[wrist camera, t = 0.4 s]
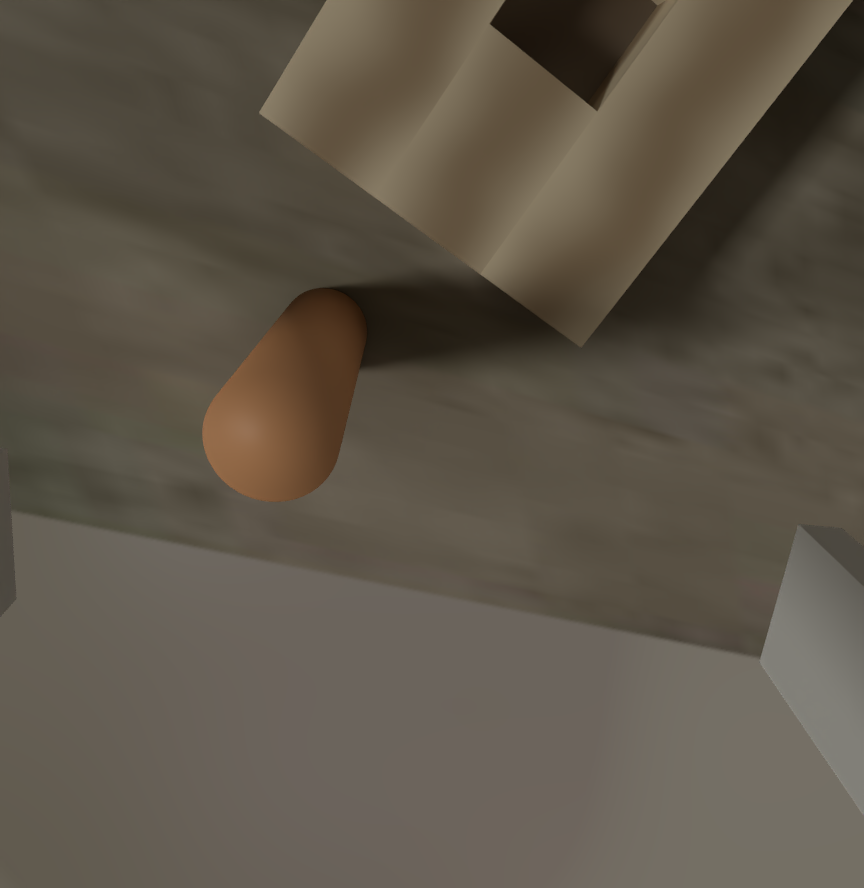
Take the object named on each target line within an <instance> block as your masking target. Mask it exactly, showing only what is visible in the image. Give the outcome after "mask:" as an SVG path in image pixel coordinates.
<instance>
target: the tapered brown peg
mask: <svg viewBox="0 0 864 888" xmlns="http://www.w3.org/2000/svg"><path fill="white" fill-rule="evenodd" d="M366 340H367V324H366V320H365V317H364V315H363V312H362V311H361V309H360V307H359V306H358V305H357V304H356V302H355V301H354V300H353V299H351V298H350V297H349V296H347V295H346V294H344V293H342V292H340V291H337V290H334V289H328V288H318V289H312V290H309V291H306V292H304V293H302V294H301V295H299V296H298V297H296V298H295V299H294V300H293V301H292V302H291V304H290V305H289V306H288V307H287V308H286V310H285V311H284V312H283V313H282V315H281V316H280V317H279V318H278V320H277V321H276V322H275V323H274V325H273V326H272V327H271V328H270V330H269V331H268V332H267V333H266V334H265V336H264V337H263V338H262V339H261V341H260V342H259V343H258V344H257V346H256V347H255V348H254V349H253V351H252V352H251V353H250V354H249V356H248V357H247V358H246V359H245V361H244V362H243V363H242V364H241V365H240V367H239V368H238V369H237V370H236V372H235V373H234V374H233V375H232V377H231V378H230V379H229V380H228V382H227V383H226V384H225V385H224V387H223V388H222V389H221V390H220V391H219V393H218V394H217V395H216V397H215V398H214V399H213V401H212V402H211V404H210V406H209V408H208V410H207V412H206V415H205V419H204V423H203V444H204V449H205V452H206V455H207V458H208V460H209V462H210V464H211V466H212V467H213V469H214V470H215V472H216V473H217V474H218V476H219V477H220V478H221V479H222V480H223V481H224V482H225V483H226V484H227V485H229V486H230V487H231V488H233V489H234V490H236V491H237V492H239V493H241V494H243V495H245V496H248V497H250V498H253V499H257V500H261V501H269V502H281V501H289V500H293V499H297V498H299V497H302V496H304V495H306V494H308V493H310V492H312V491H313V490H315V489H316V488H318V487H319V486H320V485H321V484H322V483H323V482H324V481H325V480H326V479H327V477H328V476H329V475H330V473H331V472H332V470H333V468H334V466H335V464H336V462H337V458H338V455H339V451H340V447H341V443H342V439H343V435H344V430H345V426H346V422H347V418H348V414H349V410H350V406H351V402H352V398H353V393H354V389H355V385H356V381H357V377H358V373H359V369H360V365H361V360H362V356H363V352H364V348H365V344H366Z"/></svg>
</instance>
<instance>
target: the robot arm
mask: <svg viewBox="0 0 864 888" xmlns="http://www.w3.org/2000/svg"><path fill="white" fill-rule="evenodd" d="M13 553H14V552H13V536H12V519H11V502H10V486H9V469H8V453H7V448H0V616H2V614H3V613H4V612H5V611H6V610H7V609H8V608H9V606H10V605H11V604H12V603H13V602H14V601H15V600H16V585H15V570H14V555H13ZM759 663H760V664H761V666H762V667H763V669H764V670H765V672H766V673H767V674H768V676H769V677H770V679H771V680H772V682H773V683H774V685H775V686H776V688H777V689H778V691H779V692H780V693H781V695H782V696H783V698H784V699H785V701H786V702H787V704H788V705H789V707H790V708H791V710H792V711H793V713H794V714H795V716H796V717H797V718H798V720H799V721H800V723H801V724H802V726H803V727H804V729H805V730H806V732H807V733H808V735H809V736H810V738H811V739H812V740H813V742H814V743H815V745H816V746H817V748H818V749H819V751H820V752H821V754H822V755H823V757H824V758H825V760H826V761H827V763H828V764H829V765H830V767H831V768H832V770H833V771H834V773H835V774H836V776H837V777H838V779H839V780H840V782H841V783H842V785H843V786H844V787H845V789H846V790H847V792H848V793H849V795H850V796H851V798H852V799H853V801H854V802H855V804H856V805H857V807H858V808H859V810H860V811H861V812H862V814H863V815H864V547H863V546H862V545H861V544H860V543H858V542H857V541H856V540H855V539H854V538H853V537H852V536H850V535H849V534H848V533H847V532H846V531H845V530H844V529H842V528H834V527H824V526H814V525H803V524H798V528H797V531H796V535H795V538H794V542H793V545H792V549H791V552H790V556H789V560H788V563H787V567H786V570H785V574H784V577H783V581H782V584H781V588H780V591H779V595H778V599H777V602H776V606H775V609H774V613H773V616H772V620H771V623H770V627H769V630H768V634H767V638H766V641H765V645H764V648H763V652H762V655H761V659H760V662H759Z"/></svg>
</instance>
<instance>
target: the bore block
mask: <svg viewBox="0 0 864 888" xmlns="http://www.w3.org/2000/svg"><path fill="white" fill-rule="evenodd" d="M852 1H853V0H327V1H326V2H325V4H324V6H323V7H322V9H321V11H320V12H319V14H318V16H317V17H316V19H315V21H314V22H313V24H312V26H311V27H310V29H309V31H308V32H307V34H306V36H305V37H304V39H303V41H302V42H301V44H300V46H299V47H298V49H297V51H296V52H295V54H294V56H293V57H292V59H291V61H290V62H289V64H288V66H287V67H286V69H285V71H284V72H283V74H282V75H281V77H280V79H279V80H278V82H277V84H276V85H275V87H274V89H273V90H272V92H271V94H270V95H269V97H268V99H267V100H266V102H265V104H264V105H263V107H262V109H261V110H260V112H259V113H260V114H261V115H263V116H264V117H265V118H267V119H268V120H269V121H271V122H272V123H274V124H275V125H276V126H278V127H279V128H280V129H282V130H283V131H285V132H286V133H287V134H289V135H290V136H291V137H293V138H294V139H295V140H297V141H298V142H300V143H301V144H302V145H304V146H305V147H306V148H308V149H309V150H311V151H312V152H313V153H315V154H316V155H317V156H319V157H320V158H321V159H323V160H324V161H326V162H327V163H328V164H330V165H331V166H332V167H334V168H335V169H337V170H338V171H339V172H341V173H342V174H343V175H345V176H346V177H348V178H349V179H350V180H352V181H353V182H354V183H356V184H357V185H358V186H360V187H361V188H363V189H364V190H365V191H367V192H368V193H369V194H371V195H372V196H374V197H375V198H376V199H378V200H379V201H380V202H382V203H383V204H385V205H386V206H387V207H389V208H390V209H391V210H393V211H394V212H395V213H397V214H398V215H400V216H401V217H402V218H404V219H405V220H406V221H408V222H409V223H411V224H412V225H413V226H415V227H416V228H417V229H419V230H420V231H422V232H423V233H424V234H426V235H427V236H428V237H430V238H431V239H432V240H434V241H435V242H437V243H438V244H439V245H441V246H442V247H443V248H445V249H446V250H448V251H449V252H450V253H452V254H453V255H454V256H456V257H457V258H459V259H460V260H461V261H463V262H464V263H465V264H467V265H468V266H469V267H471V268H472V269H474V270H475V271H476V272H478V273H479V274H480V275H482V276H483V277H485V278H486V279H487V280H489V281H490V282H491V283H493V284H494V285H496V286H497V287H498V288H500V289H501V290H502V291H504V292H505V293H506V294H508V295H509V296H511V297H512V298H513V299H515V300H516V301H517V302H519V303H520V304H522V305H523V306H524V307H526V308H527V309H528V310H530V311H531V312H532V313H534V314H535V315H537V316H538V317H539V318H541V319H542V320H543V321H545V322H546V323H548V324H549V325H550V326H552V327H553V328H554V329H556V330H557V331H559V332H560V333H561V334H563V335H564V336H565V337H567V338H568V339H569V340H571V341H572V342H574V343H575V344H576V345H578V346H579V347H580V348H581V347H582V346H583V345H584V344H585V342H586V341H587V340H588V339H589V337H590V336H591V335H592V333H593V332H594V331H595V330H596V328H597V327H598V326H599V324H600V323H601V322H602V321H603V319H604V318H605V317H606V315H607V314H608V313H609V312H610V310H611V309H612V308H613V307H614V305H615V304H616V303H617V301H618V300H619V299H620V298H621V296H622V295H623V294H624V292H625V291H626V290H627V289H628V287H629V286H630V285H631V284H632V282H633V281H634V280H635V278H636V277H637V276H638V275H639V273H640V272H641V271H642V269H643V268H644V267H645V266H646V264H647V263H648V262H649V260H650V259H651V258H652V257H653V255H654V254H655V253H656V252H657V250H658V249H659V248H660V246H661V245H662V244H663V243H664V241H665V240H666V239H667V237H668V236H669V235H670V234H671V232H672V231H673V230H674V229H675V227H676V226H677V225H678V223H679V222H680V221H681V220H682V218H683V217H684V216H685V214H686V213H687V212H688V211H689V209H690V208H691V207H692V205H693V204H694V203H695V202H696V200H697V199H698V198H699V197H700V195H701V194H702V193H703V191H704V190H705V189H706V188H707V186H708V185H709V184H710V182H711V181H712V180H713V179H714V177H715V176H716V175H717V174H718V172H719V171H720V170H721V168H722V167H723V166H724V165H725V163H726V162H727V161H728V159H729V158H730V157H731V156H732V154H733V153H734V152H735V151H736V149H737V148H738V147H739V145H740V144H741V143H742V142H743V140H744V139H745V138H746V136H747V135H748V134H749V133H750V131H751V130H752V129H753V127H754V126H755V125H756V124H757V122H758V121H759V120H760V119H761V117H762V116H763V115H764V113H765V112H766V111H767V110H768V108H769V107H770V106H771V104H772V103H773V102H774V101H775V99H776V98H777V97H778V96H779V94H780V93H781V92H782V90H783V89H784V88H785V87H786V85H787V84H788V83H789V81H790V80H791V79H792V78H793V76H794V75H795V74H796V72H797V71H798V70H799V69H800V67H801V66H802V65H803V64H804V62H805V61H806V60H807V58H808V57H809V56H810V55H811V53H812V52H813V51H814V49H815V48H816V47H817V46H818V44H819V43H820V42H821V41H822V39H823V38H824V37H825V35H826V34H827V33H828V32H829V30H830V29H831V28H832V26H833V25H834V24H835V23H836V21H837V20H838V19H839V17H840V16H841V15H842V14H843V12H844V11H845V10H846V9H847V7H848V6H849V5H850V3H851V2H852Z"/></svg>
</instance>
